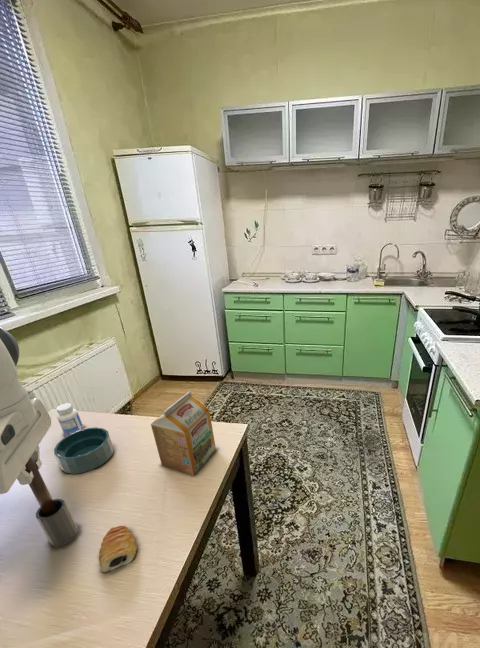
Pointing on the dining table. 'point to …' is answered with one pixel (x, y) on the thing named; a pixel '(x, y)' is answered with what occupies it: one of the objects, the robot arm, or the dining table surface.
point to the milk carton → (184, 435)
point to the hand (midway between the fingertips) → (32, 474)
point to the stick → (40, 490)
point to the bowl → (84, 450)
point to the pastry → (117, 548)
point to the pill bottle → (69, 419)
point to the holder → (58, 524)
